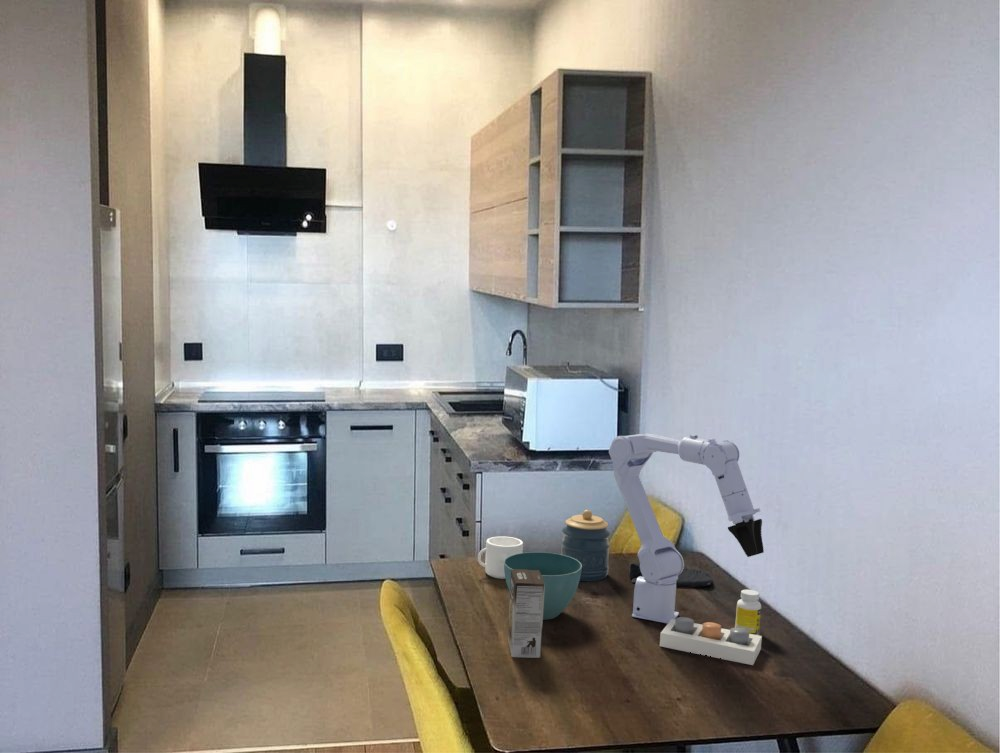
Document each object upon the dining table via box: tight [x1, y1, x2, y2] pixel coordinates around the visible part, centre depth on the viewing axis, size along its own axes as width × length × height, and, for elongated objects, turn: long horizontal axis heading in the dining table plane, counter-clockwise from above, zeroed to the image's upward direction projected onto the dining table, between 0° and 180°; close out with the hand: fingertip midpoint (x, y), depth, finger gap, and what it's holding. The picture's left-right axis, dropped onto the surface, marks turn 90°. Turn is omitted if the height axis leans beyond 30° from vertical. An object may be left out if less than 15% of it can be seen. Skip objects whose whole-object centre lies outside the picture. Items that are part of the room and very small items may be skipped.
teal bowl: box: [504, 551, 582, 621], centre depth 225 cm, size 18×18×12 cm
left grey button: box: [675, 616, 695, 635], centre depth 212 cm, size 4×4×3 cm
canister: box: [560, 509, 612, 582], centre depth 256 cm, size 13×13×18 cm
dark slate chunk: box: [628, 562, 713, 588], centre depth 257 cm, size 15×22×5 cm
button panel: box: [659, 618, 763, 666], centre depth 210 cm, size 20×10×3 cm, turn 66°
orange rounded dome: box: [702, 621, 722, 640], centre depth 210 cm, size 4×4×3 cm
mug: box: [477, 536, 524, 580], centre depth 253 cm, size 12×10×9 cm
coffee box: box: [507, 569, 545, 659], centre depth 203 cm, size 9×6×16 cm
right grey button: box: [729, 627, 749, 646], centre depth 207 cm, size 4×4×3 cm
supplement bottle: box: [734, 589, 762, 636], centre depth 219 cm, size 5×5×10 cm
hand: (755, 554), depth 208 cm, fingers open, 7 cm apart
